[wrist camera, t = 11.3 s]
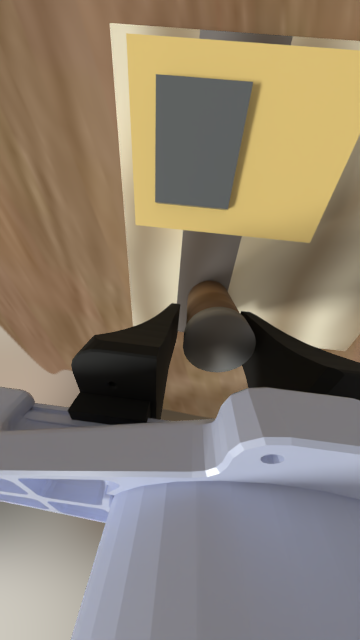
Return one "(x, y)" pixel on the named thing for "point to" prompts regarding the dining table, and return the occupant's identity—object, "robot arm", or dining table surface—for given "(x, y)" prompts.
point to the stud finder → (239, 133)
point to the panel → (247, 252)
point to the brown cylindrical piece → (216, 330)
